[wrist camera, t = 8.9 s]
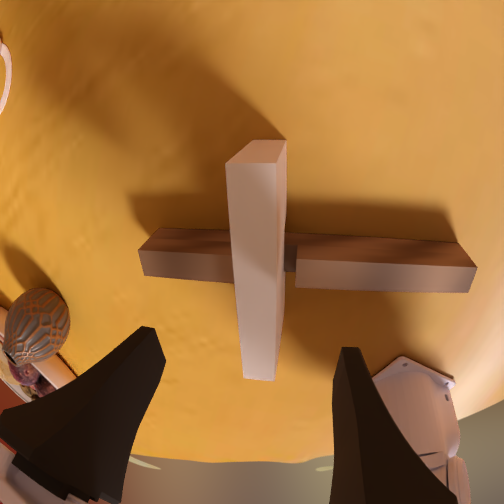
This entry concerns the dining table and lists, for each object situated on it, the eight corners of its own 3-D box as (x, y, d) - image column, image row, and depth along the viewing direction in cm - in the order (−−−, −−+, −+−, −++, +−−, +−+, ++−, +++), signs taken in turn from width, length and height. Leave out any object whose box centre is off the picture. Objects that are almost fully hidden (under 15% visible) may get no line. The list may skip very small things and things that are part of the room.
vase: (31, 267, 24) (-22, 317, 17) (77, 296, 25) (25, 358, 17) (39, 310, 28) (-3, 358, 20) (81, 337, 28) (42, 393, 21)
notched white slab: (284, 313, 21) (274, 381, 16) (259, 312, 21) (243, 378, 16) (286, 139, 15) (276, 163, 10) (253, 139, 15) (225, 163, 10)
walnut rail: (458, 243, 16) (477, 267, 13) (451, 266, 17) (468, 292, 14) (159, 228, 19) (137, 250, 16) (163, 251, 20) (144, 275, 17)
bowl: (80, 421, 48) (66, 447, 41) (-18, 331, 41) (-37, 353, 34) (129, 400, 34) (107, 445, 28) (-22, 255, 27) (-57, 286, 20)
